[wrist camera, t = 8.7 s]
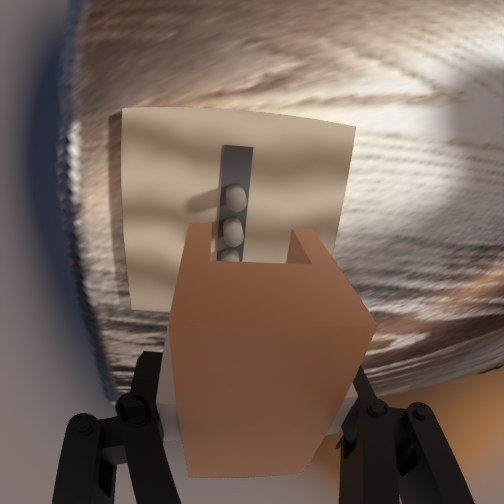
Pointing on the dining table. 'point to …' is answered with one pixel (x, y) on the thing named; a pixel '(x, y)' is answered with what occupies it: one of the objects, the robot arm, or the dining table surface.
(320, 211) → the board
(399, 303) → the dining table surface
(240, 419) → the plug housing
